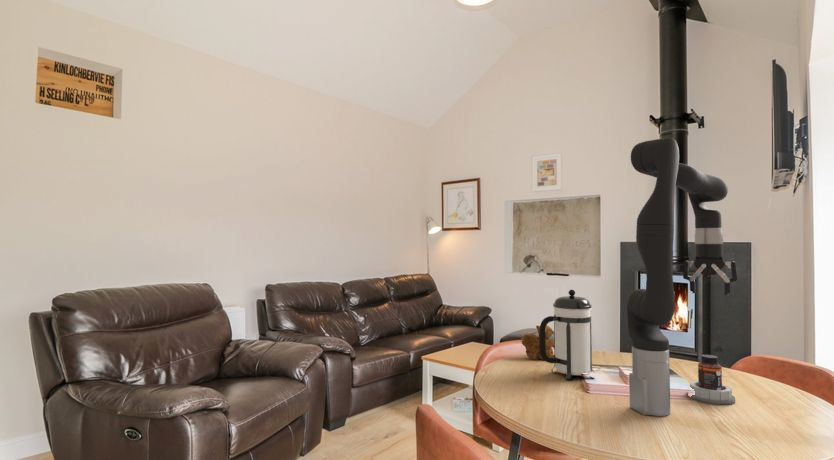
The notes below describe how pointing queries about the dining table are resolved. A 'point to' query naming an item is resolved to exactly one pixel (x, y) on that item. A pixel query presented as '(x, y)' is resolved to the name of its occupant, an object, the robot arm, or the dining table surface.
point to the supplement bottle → (709, 373)
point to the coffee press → (570, 336)
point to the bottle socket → (713, 395)
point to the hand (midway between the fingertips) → (709, 293)
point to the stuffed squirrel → (538, 344)
